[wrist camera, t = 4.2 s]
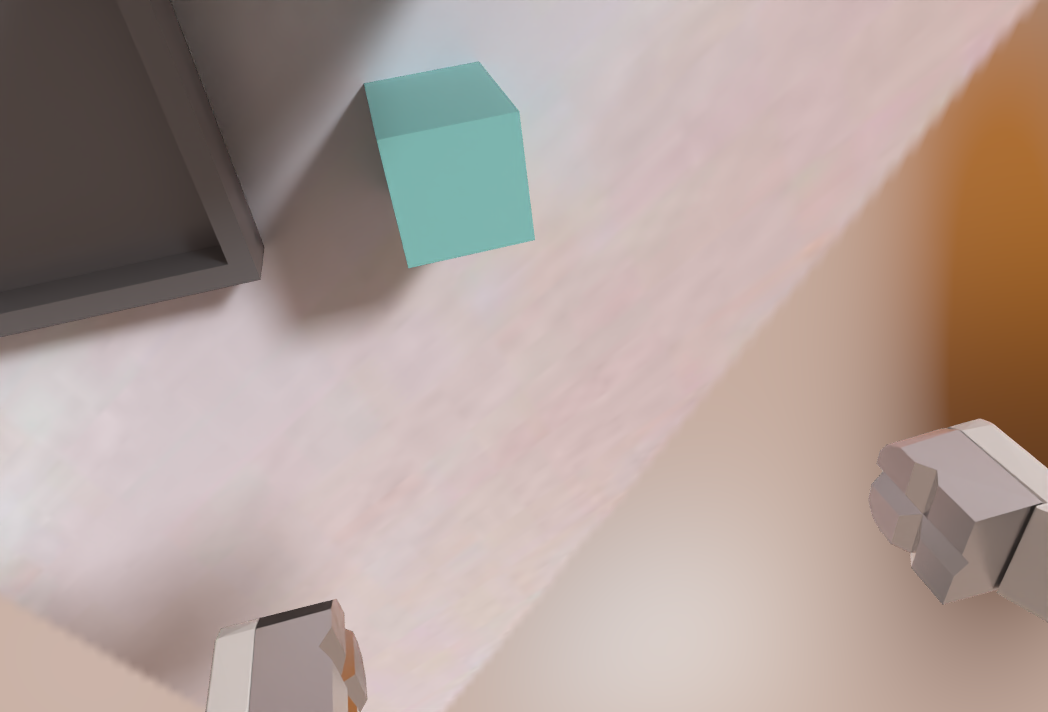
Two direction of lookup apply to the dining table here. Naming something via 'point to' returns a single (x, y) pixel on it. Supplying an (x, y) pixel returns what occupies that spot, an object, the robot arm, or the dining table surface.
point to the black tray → (110, 166)
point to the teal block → (452, 162)
